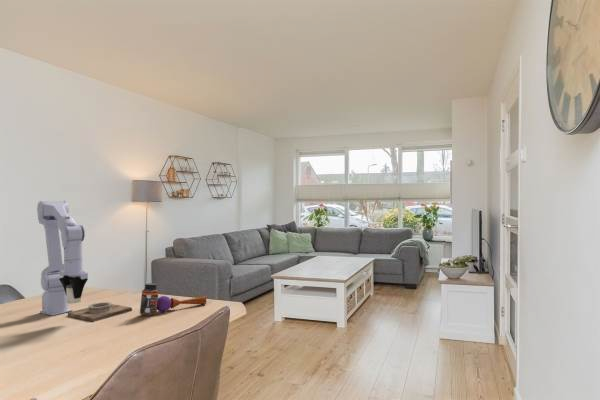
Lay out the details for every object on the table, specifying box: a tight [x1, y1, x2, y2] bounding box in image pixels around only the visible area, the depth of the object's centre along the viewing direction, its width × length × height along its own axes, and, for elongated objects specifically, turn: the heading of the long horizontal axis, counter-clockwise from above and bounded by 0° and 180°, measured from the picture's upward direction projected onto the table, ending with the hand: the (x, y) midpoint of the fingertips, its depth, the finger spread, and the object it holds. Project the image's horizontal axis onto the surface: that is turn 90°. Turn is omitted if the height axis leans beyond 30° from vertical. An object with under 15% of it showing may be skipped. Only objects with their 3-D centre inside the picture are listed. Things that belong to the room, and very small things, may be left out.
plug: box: [66, 285, 82, 305], centre depth 142 cm, size 4×4×6 cm
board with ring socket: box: [67, 301, 133, 322], centre depth 153 cm, size 16×16×3 cm
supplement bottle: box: [139, 282, 159, 316], centre depth 149 cm, size 6×6×11 cm
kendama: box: [157, 295, 207, 313], centre depth 158 cm, size 6×6×20 cm
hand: (73, 297), depth 142 cm, fingers closed on plug, 4 cm apart
